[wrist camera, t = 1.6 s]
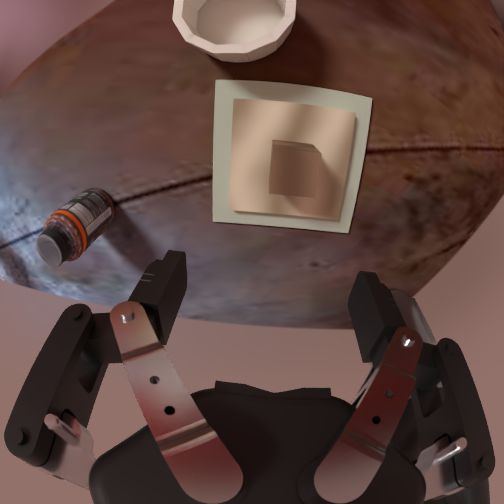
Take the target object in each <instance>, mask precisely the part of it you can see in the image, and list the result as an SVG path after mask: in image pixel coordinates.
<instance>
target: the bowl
mask: <svg viewBox="0 0 504 504" xmlns="http://www.w3.org/2000/svg"><path fill="white" fill-rule="evenodd" d="M295 9H296V0H175V2H174V10H173V19H172V20H173V22H174V23H175V25H176V26H177V28H178V29H179V31H180V33H181V34H182V36H183V37H184V39H185V41H187V42H188V43H190V44H191V45H193V46H194V47H196V48H198V49H199V50H201V51H203V52H205V53H207V54H209V55H211V56H212V57H214V58H217V59H219V60H221V61H227V62H234V63H244V62H251V61H255V60H258V59H261V58H264V57H266V56H268V55H270V54H271V53H273V52H275V51H276V50H277V49H278V48H279V47H280V46H281V45H282V44H283V42H284V41H285V39H286V37H287V36H288V35H289V34H290V32H291V29H292V26H293V23H294V20H295Z"/></svg>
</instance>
